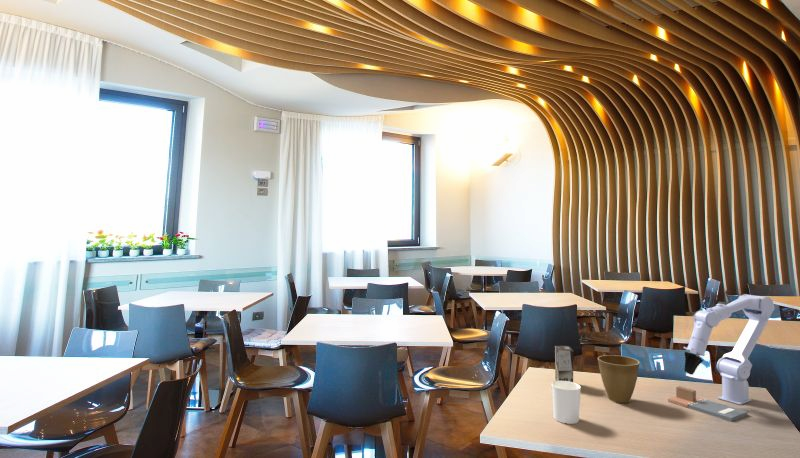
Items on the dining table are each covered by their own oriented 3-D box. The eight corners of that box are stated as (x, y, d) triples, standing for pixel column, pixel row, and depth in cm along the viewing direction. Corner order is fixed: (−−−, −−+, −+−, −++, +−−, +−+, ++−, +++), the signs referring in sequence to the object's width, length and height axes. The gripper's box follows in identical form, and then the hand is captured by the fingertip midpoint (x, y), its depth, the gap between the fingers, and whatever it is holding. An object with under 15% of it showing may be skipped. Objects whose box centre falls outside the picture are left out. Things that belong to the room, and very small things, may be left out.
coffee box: (573, 388, 186) (573, 350, 187) (558, 387, 188) (558, 349, 188) (570, 381, 195) (569, 345, 196) (554, 380, 196) (554, 344, 197)
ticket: (705, 402, 171) (705, 399, 171) (747, 415, 159) (747, 411, 159) (688, 408, 165) (688, 404, 165) (731, 421, 153) (731, 417, 153)
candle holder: (580, 416, 157) (580, 382, 157) (582, 426, 148) (581, 391, 148) (551, 412, 160) (551, 379, 161) (551, 422, 151) (551, 387, 151)
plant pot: (611, 391, 184) (611, 353, 184) (647, 402, 171) (647, 361, 171) (590, 397, 176) (589, 357, 176) (625, 410, 163) (625, 366, 163)
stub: (684, 396, 178) (684, 383, 178) (704, 401, 172) (704, 389, 172) (668, 401, 172) (668, 388, 172) (687, 407, 166) (687, 394, 166)
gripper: (689, 338, 180) (678, 370, 178) (685, 333, 169) (674, 367, 167) (709, 345, 175) (698, 377, 173) (707, 340, 164) (696, 375, 163)
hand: (688, 373), depth 170 cm, fingers open, 7 cm apart
